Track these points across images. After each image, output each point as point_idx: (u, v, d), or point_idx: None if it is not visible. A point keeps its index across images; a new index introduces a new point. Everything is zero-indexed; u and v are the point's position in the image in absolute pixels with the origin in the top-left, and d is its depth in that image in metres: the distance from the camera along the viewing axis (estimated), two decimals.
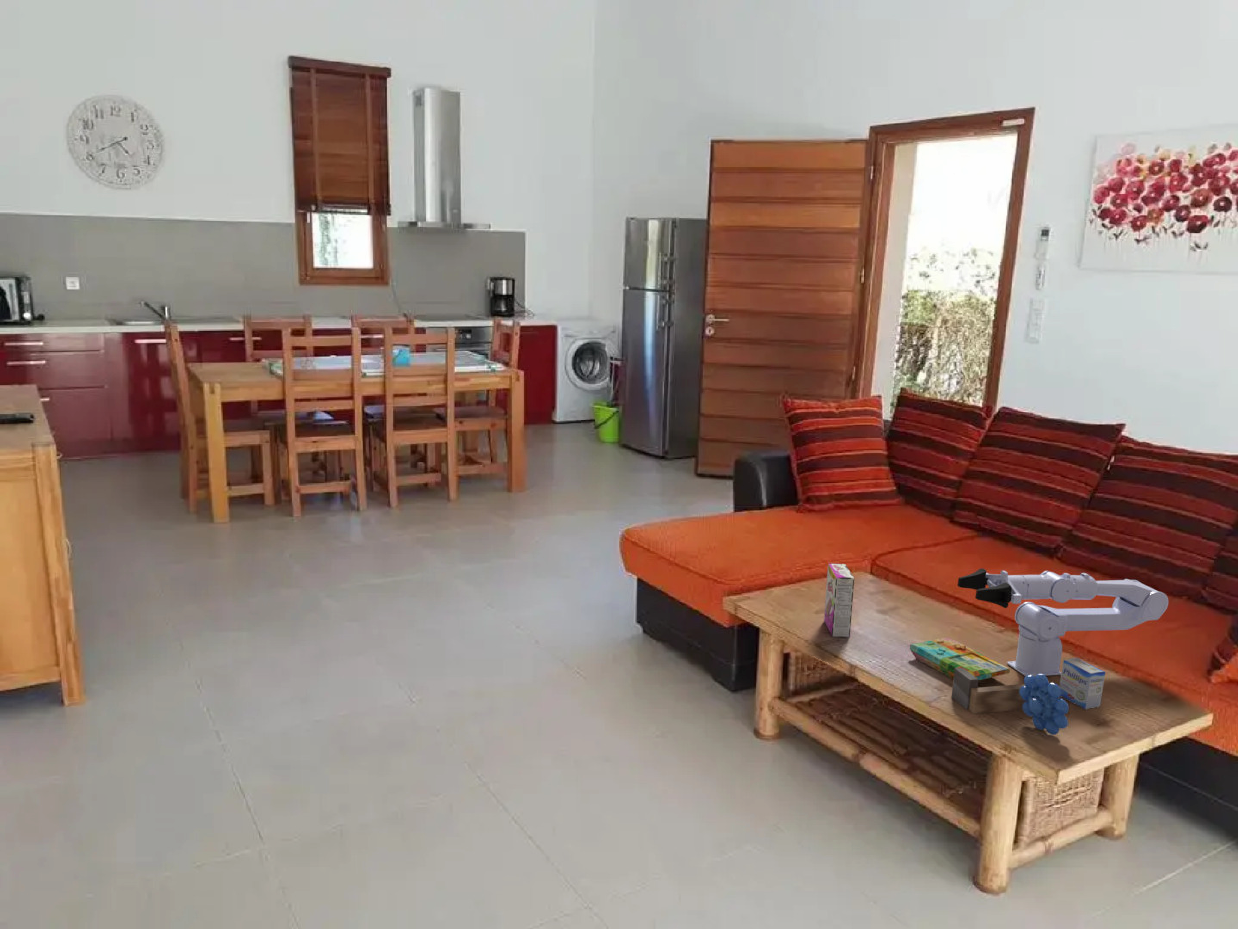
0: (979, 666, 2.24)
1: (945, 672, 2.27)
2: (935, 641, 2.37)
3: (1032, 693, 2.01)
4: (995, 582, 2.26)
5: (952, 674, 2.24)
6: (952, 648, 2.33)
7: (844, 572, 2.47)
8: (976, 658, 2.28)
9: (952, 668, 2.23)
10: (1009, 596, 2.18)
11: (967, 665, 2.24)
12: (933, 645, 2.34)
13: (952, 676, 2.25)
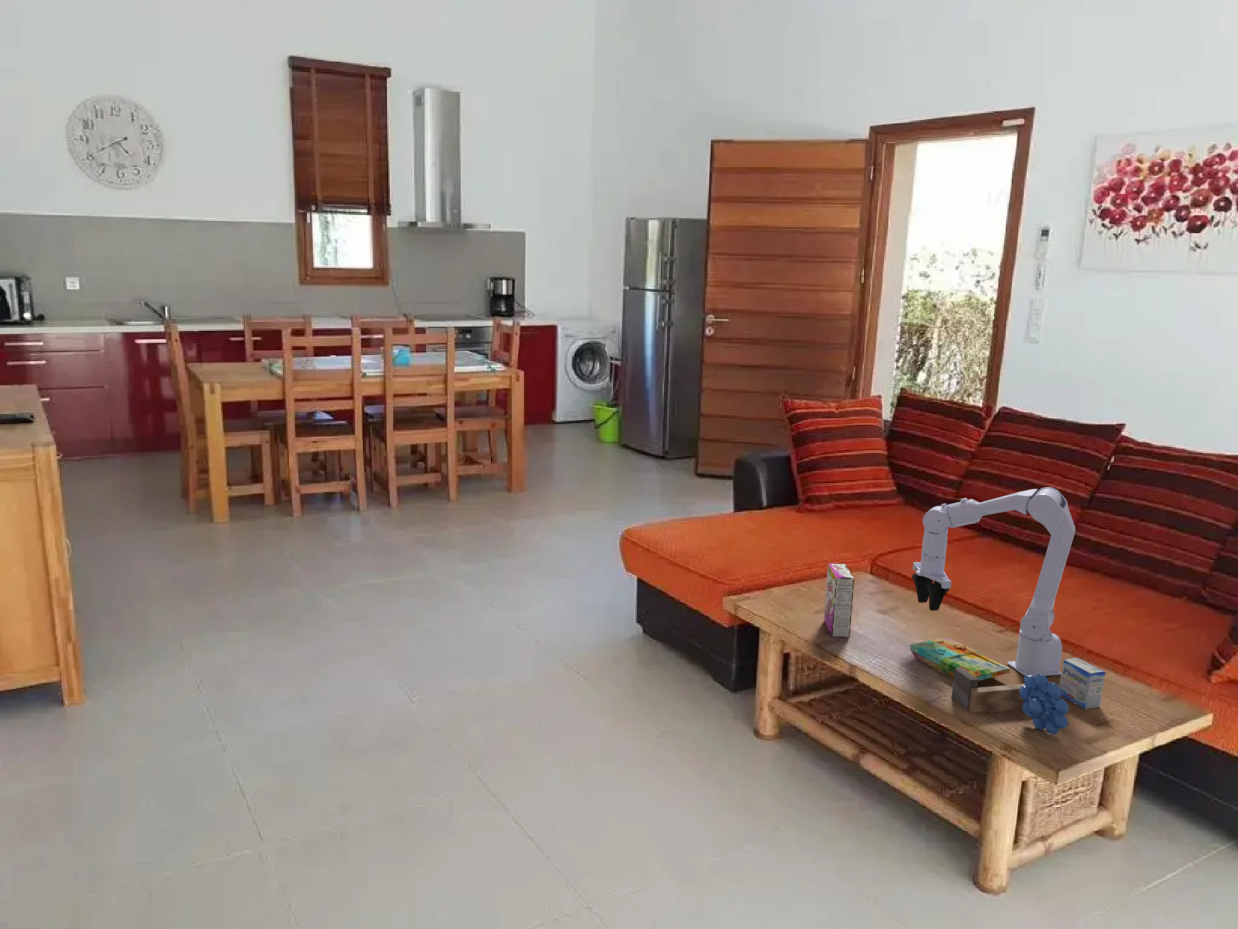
0: (979, 666, 2.24)
1: (946, 672, 2.26)
2: (935, 641, 2.37)
3: (1032, 693, 2.01)
4: None
5: (953, 674, 2.24)
6: (952, 648, 2.33)
7: (843, 572, 2.47)
8: (976, 658, 2.28)
9: (953, 668, 2.23)
10: (940, 587, 2.36)
11: (968, 665, 2.24)
12: (933, 645, 2.34)
13: (953, 676, 2.25)
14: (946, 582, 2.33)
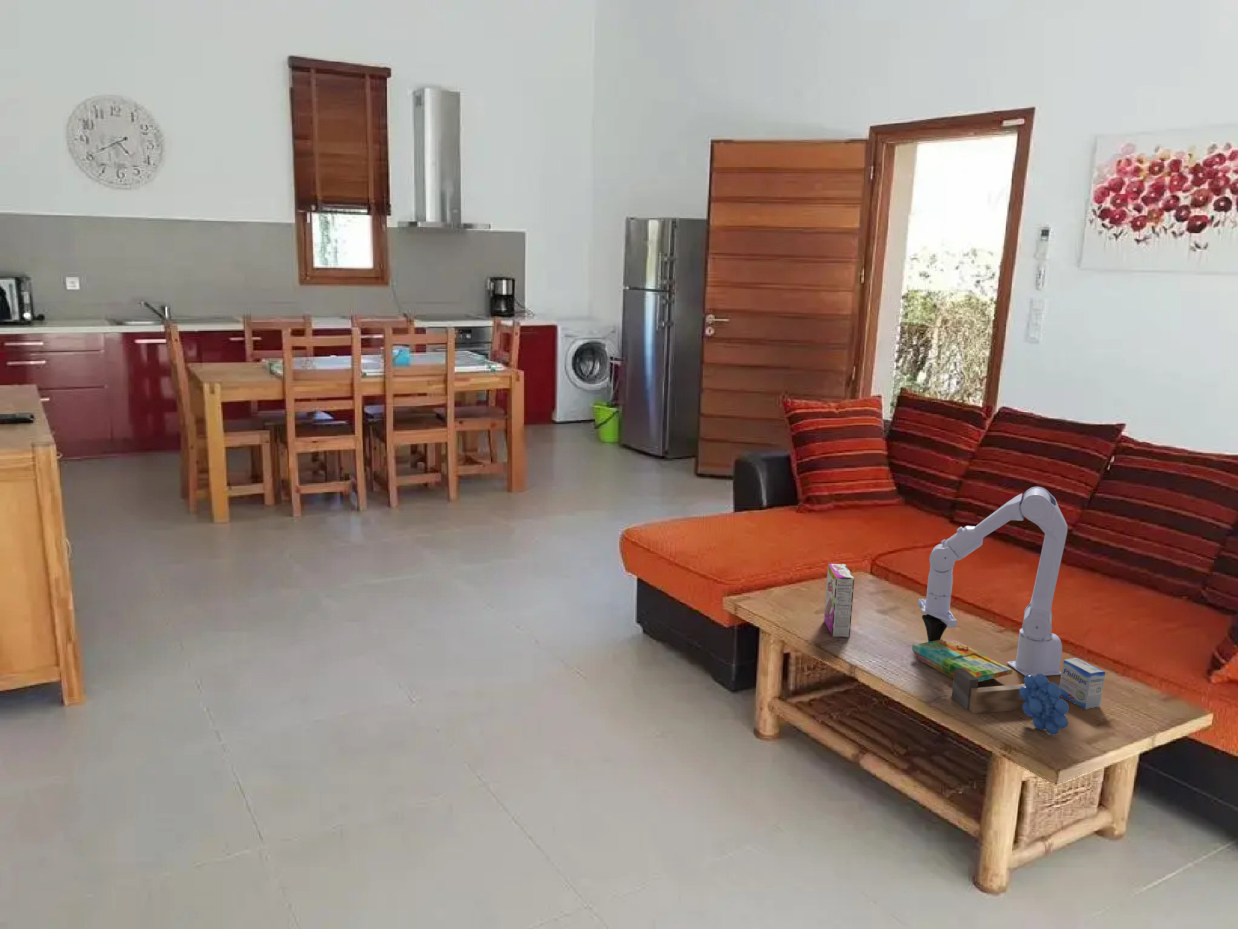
0: (981, 667, 2.23)
1: (947, 673, 2.26)
2: (937, 642, 2.36)
3: (1032, 693, 2.01)
4: None
5: None
6: (954, 649, 2.32)
7: (844, 572, 2.47)
8: (978, 659, 2.27)
9: (954, 669, 2.23)
10: (940, 622, 2.36)
11: (969, 666, 2.23)
12: (935, 646, 2.34)
13: None
14: (952, 621, 2.31)
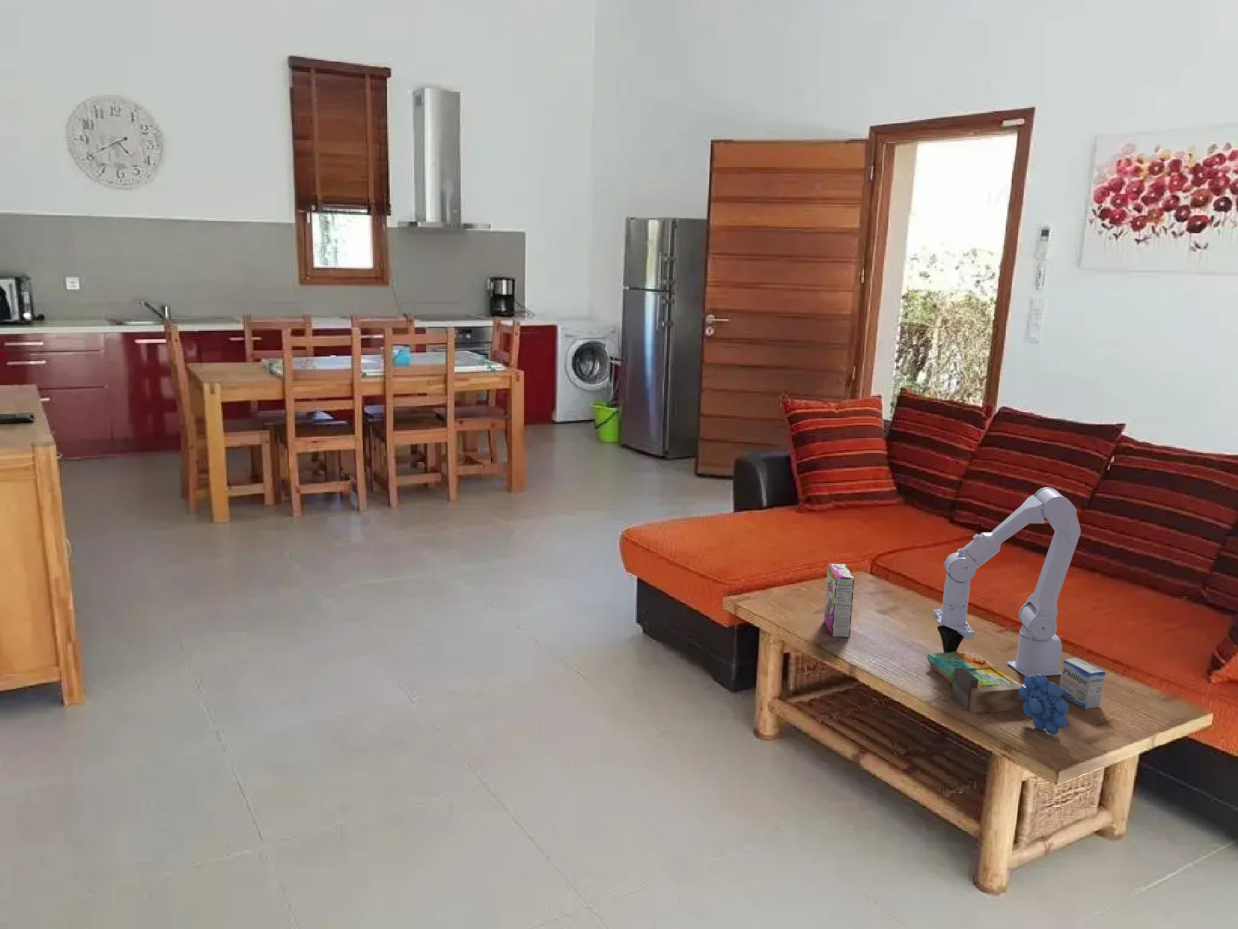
0: (990, 681, 2.16)
1: None
2: (956, 653, 2.30)
3: (1032, 693, 2.01)
4: None
5: None
6: (970, 661, 2.25)
7: (843, 572, 2.47)
8: (991, 673, 2.20)
9: None
10: (956, 633, 2.29)
11: (978, 679, 2.17)
12: (951, 656, 2.28)
13: None
14: (969, 633, 2.24)
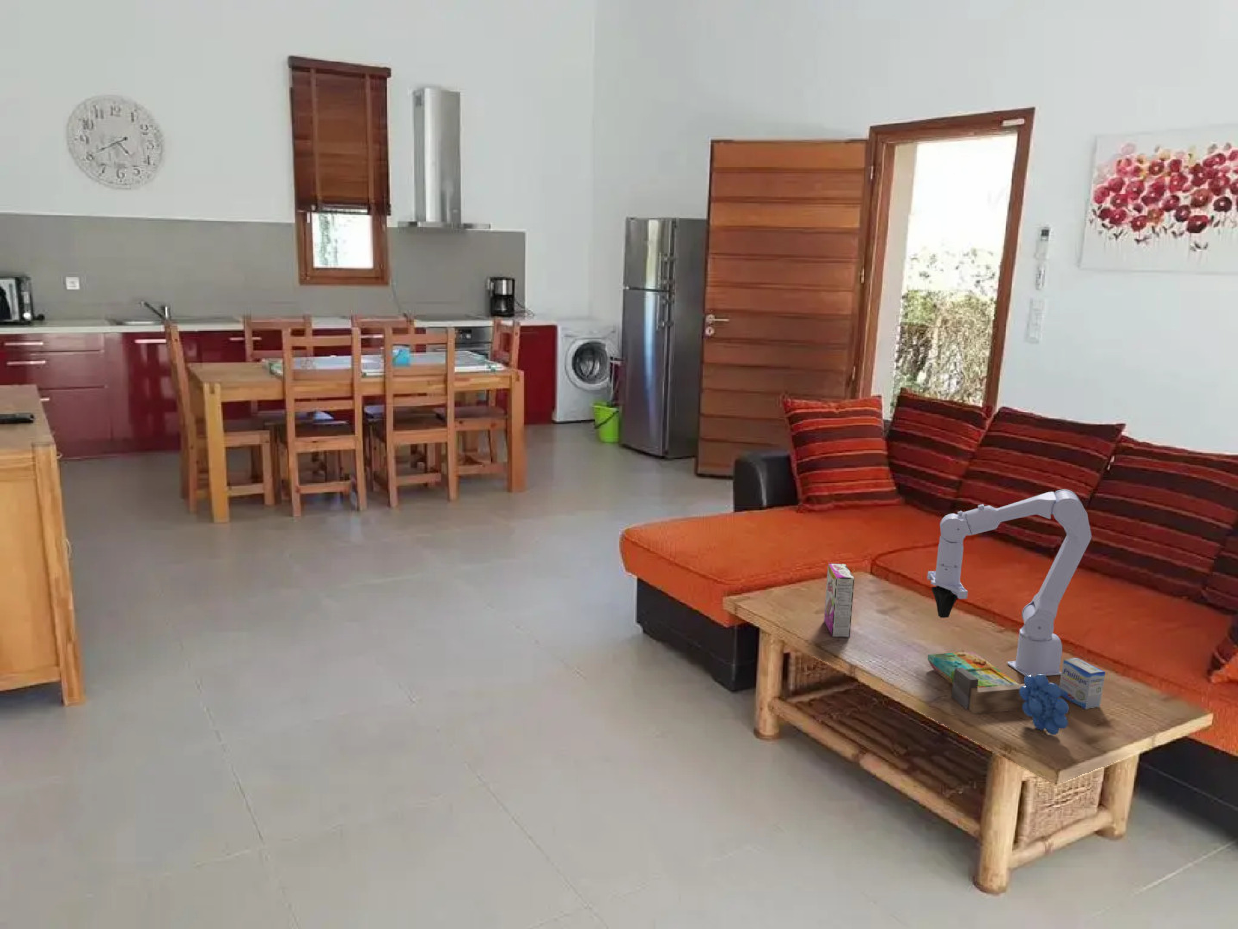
0: (990, 682, 2.16)
1: None
2: (956, 654, 2.30)
3: (1032, 693, 2.01)
4: None
5: None
6: (970, 662, 2.25)
7: (844, 572, 2.47)
8: (991, 674, 2.20)
9: None
10: (950, 594, 2.31)
11: (978, 680, 2.17)
12: (951, 657, 2.28)
13: None
14: (962, 592, 2.26)
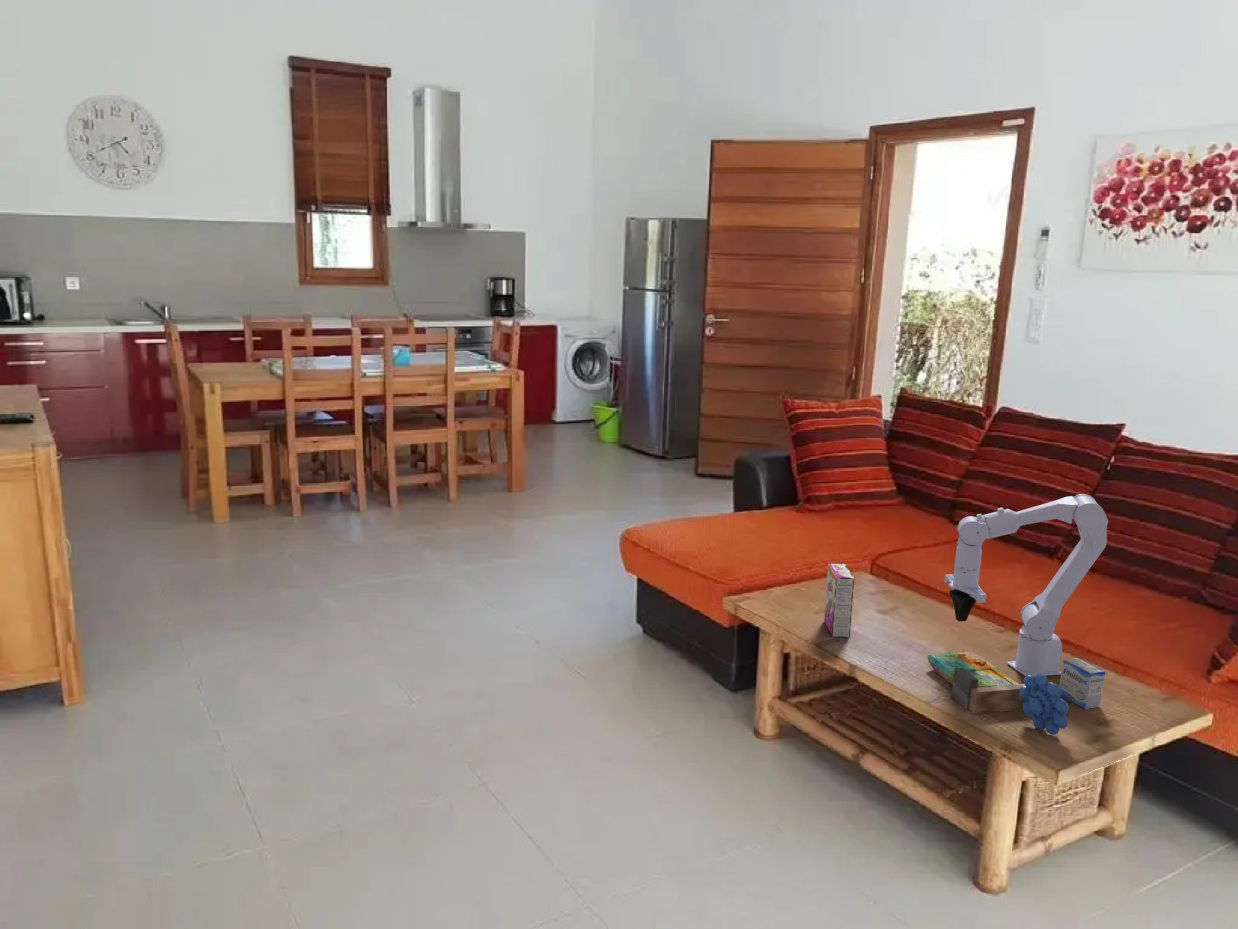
0: (990, 682, 2.15)
1: None
2: (956, 654, 2.30)
3: (1032, 693, 2.01)
4: None
5: None
6: (971, 662, 2.25)
7: (843, 572, 2.47)
8: (991, 674, 2.20)
9: None
10: (969, 597, 2.29)
11: (978, 680, 2.17)
12: (952, 657, 2.27)
13: None
14: (981, 596, 2.24)
